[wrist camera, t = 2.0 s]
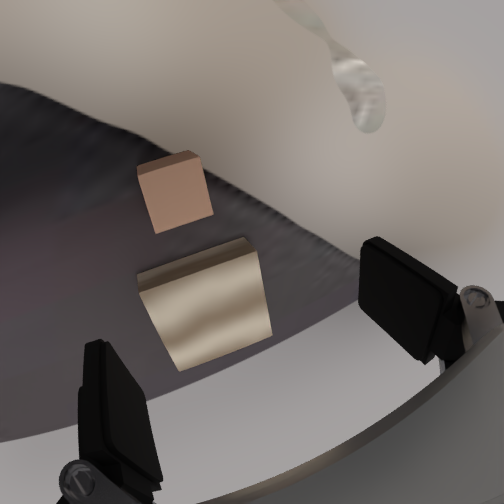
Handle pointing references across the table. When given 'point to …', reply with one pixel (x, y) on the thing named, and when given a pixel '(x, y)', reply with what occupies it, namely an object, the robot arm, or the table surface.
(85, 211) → the table surface
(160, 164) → the terracotta cube
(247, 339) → the birch block
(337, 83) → the table surface
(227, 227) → the table surface
